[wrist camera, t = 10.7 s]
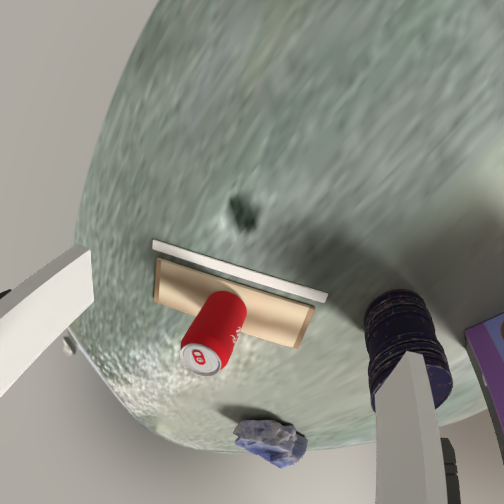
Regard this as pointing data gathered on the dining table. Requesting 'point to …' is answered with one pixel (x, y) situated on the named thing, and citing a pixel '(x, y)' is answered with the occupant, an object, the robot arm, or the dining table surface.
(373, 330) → the dark blue cylinder
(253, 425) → the mineral
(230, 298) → the beverage can
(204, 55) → the dining table surface
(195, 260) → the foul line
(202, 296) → the board
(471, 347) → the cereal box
